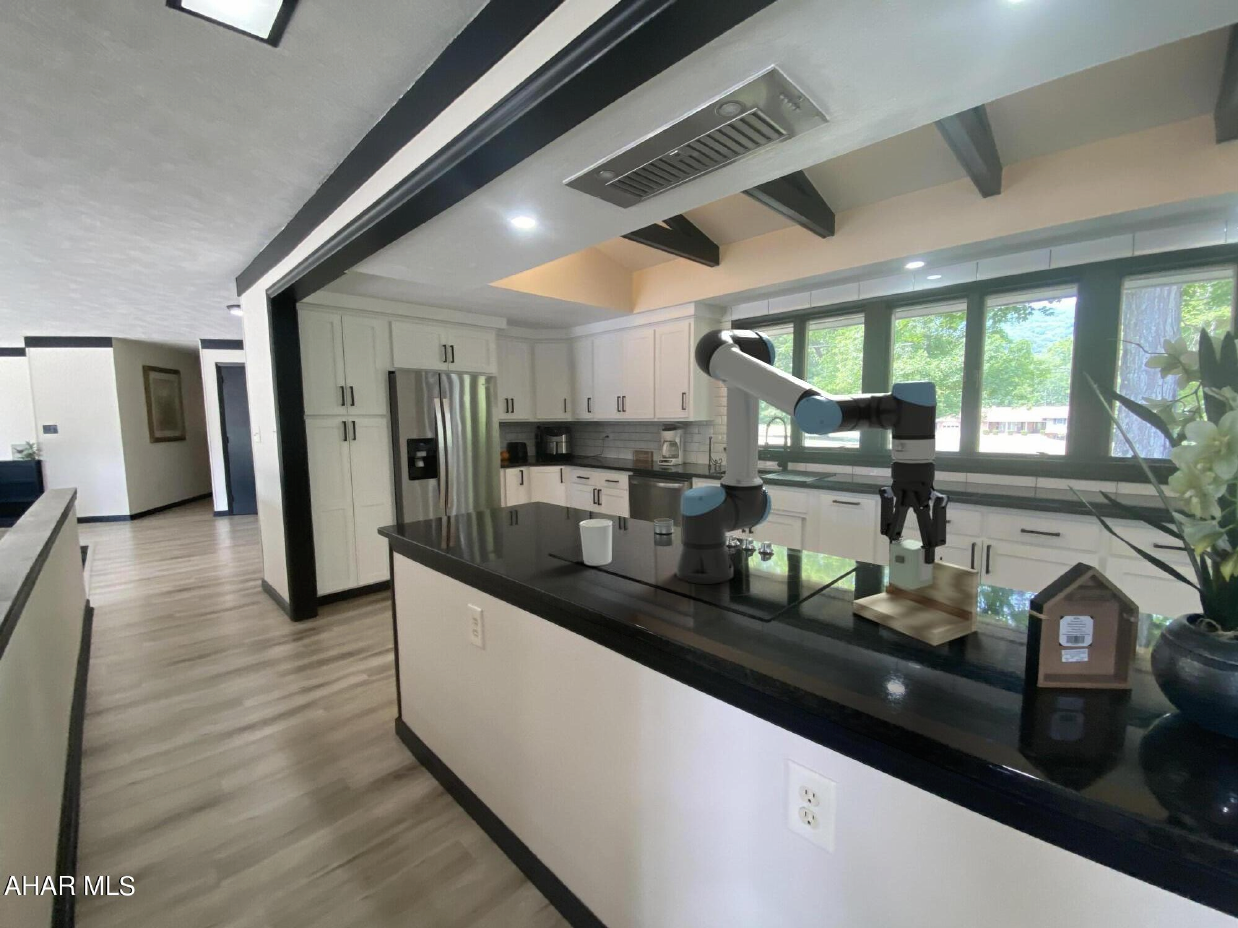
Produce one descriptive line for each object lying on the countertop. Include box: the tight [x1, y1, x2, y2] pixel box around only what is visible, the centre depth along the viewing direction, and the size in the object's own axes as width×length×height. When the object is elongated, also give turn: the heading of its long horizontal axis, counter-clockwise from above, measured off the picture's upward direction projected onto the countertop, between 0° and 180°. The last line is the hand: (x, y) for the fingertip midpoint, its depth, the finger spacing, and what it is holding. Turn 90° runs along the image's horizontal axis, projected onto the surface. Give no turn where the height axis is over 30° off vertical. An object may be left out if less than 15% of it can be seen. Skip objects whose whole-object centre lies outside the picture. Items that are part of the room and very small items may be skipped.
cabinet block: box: [890, 539, 933, 590], centre depth 104 cm, size 5×7×8 cm
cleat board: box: [852, 552, 980, 647], centre depth 105 cm, size 18×12×12 cm
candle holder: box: [578, 518, 613, 567], centre depth 155 cm, size 10×10×12 cm
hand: (910, 574), depth 104 cm, fingers closed on cabinet block, 5 cm apart
